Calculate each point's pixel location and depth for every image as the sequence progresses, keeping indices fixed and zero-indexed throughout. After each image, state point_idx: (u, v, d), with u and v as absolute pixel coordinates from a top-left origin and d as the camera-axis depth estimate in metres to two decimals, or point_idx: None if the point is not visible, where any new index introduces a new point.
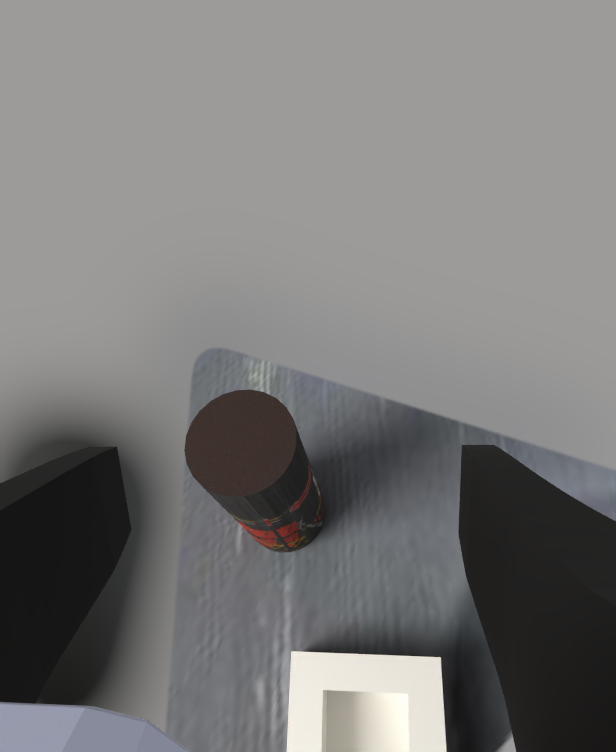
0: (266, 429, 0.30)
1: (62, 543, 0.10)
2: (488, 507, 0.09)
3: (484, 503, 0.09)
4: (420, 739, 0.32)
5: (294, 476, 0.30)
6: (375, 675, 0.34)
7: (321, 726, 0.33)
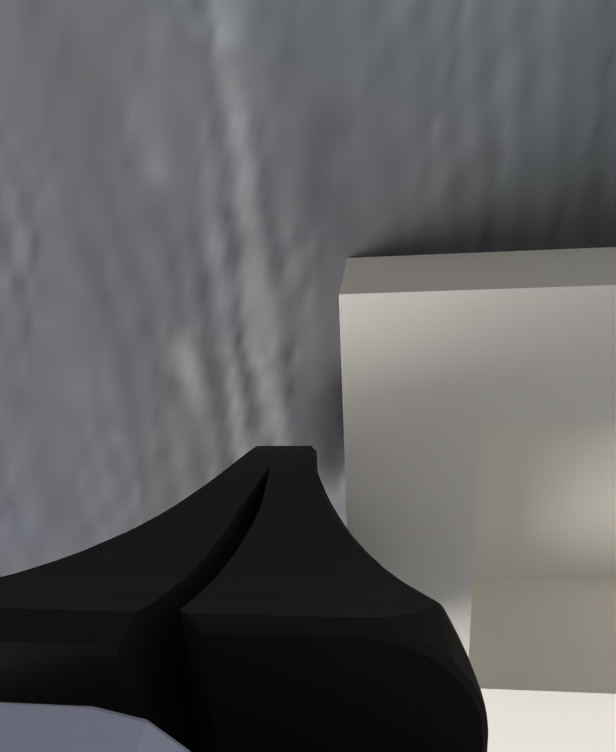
0: None
1: None
2: None
3: None
4: None
5: None
6: None
7: (471, 531, 0.09)
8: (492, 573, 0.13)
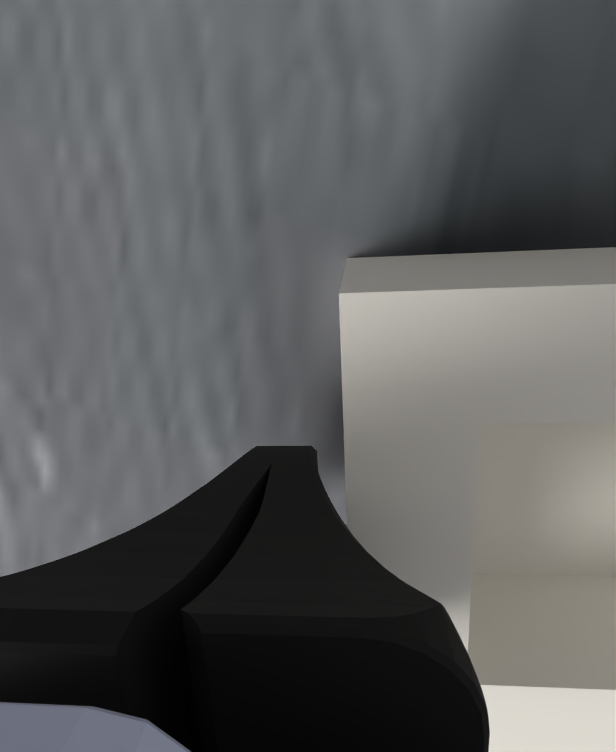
0: None
1: None
2: None
3: None
4: None
5: None
6: None
7: (470, 529, 0.09)
8: (491, 571, 0.13)
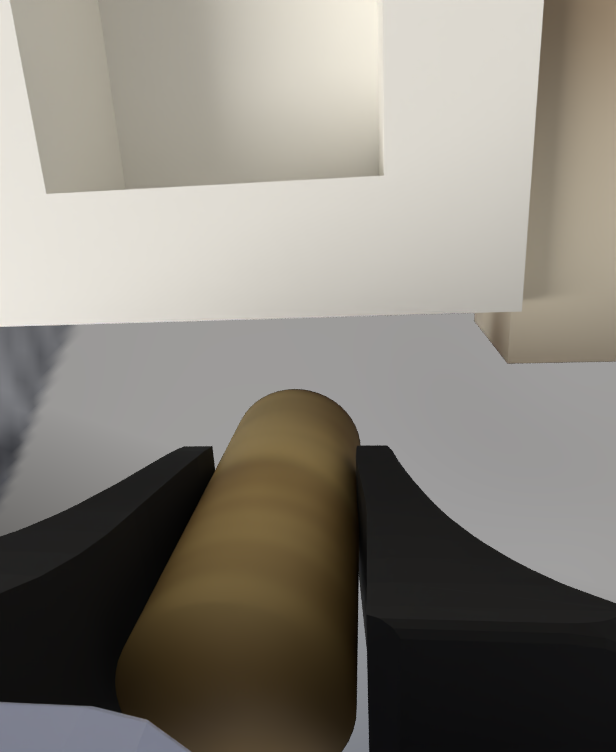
0: None
1: (175, 544, 0.10)
2: (361, 506, 0.09)
3: (360, 502, 0.10)
4: None
5: None
6: None
7: None
8: (176, 184, 0.11)
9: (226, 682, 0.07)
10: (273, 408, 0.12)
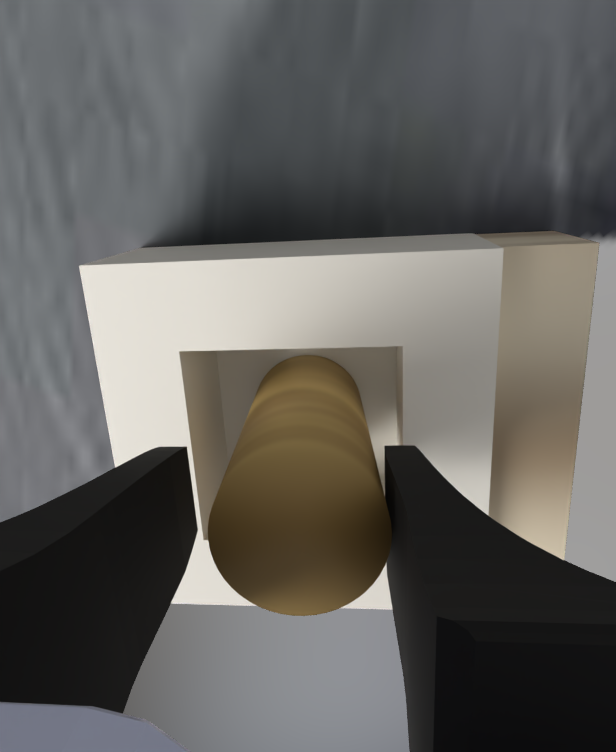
0: None
1: (145, 544, 0.10)
2: (394, 506, 0.09)
3: (392, 502, 0.09)
4: (428, 439, 0.13)
5: None
6: (315, 309, 0.12)
7: (188, 425, 0.13)
8: None
9: (293, 520, 0.09)
10: (292, 365, 0.15)
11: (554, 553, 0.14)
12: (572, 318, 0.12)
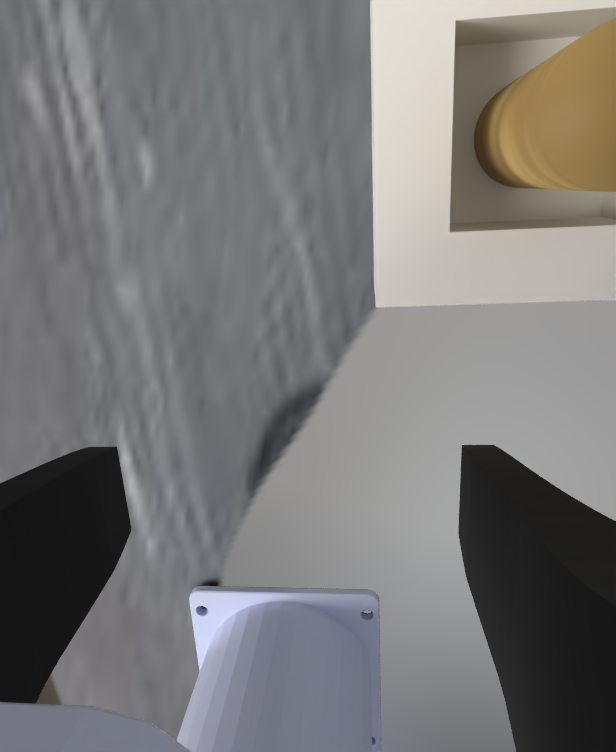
0: None
1: (62, 542, 0.10)
2: (488, 507, 0.09)
3: (484, 503, 0.09)
4: None
5: None
6: None
7: (451, 105, 0.14)
8: (469, 220, 0.18)
9: None
10: None
11: None
12: None
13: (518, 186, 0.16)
